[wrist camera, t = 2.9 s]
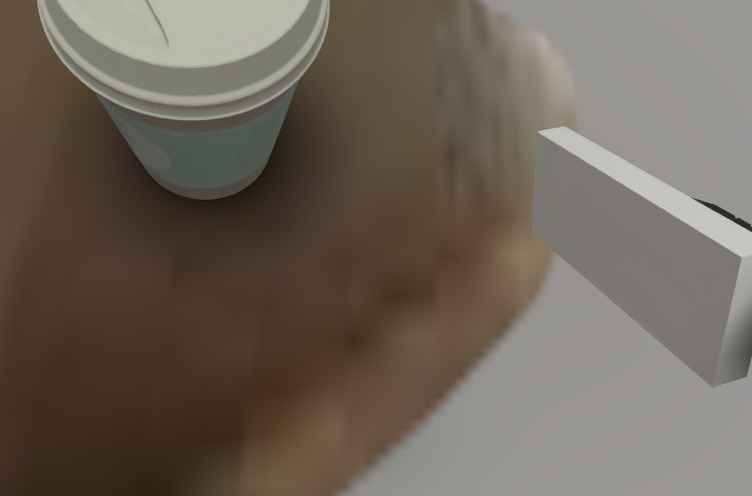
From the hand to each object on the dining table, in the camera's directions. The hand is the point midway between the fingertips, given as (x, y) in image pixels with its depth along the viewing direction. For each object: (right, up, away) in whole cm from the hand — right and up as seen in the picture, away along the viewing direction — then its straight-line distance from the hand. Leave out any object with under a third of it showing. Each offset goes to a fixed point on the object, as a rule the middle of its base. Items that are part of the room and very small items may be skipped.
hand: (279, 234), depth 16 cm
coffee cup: (-5, +4, +15) cm, 17 cm away
